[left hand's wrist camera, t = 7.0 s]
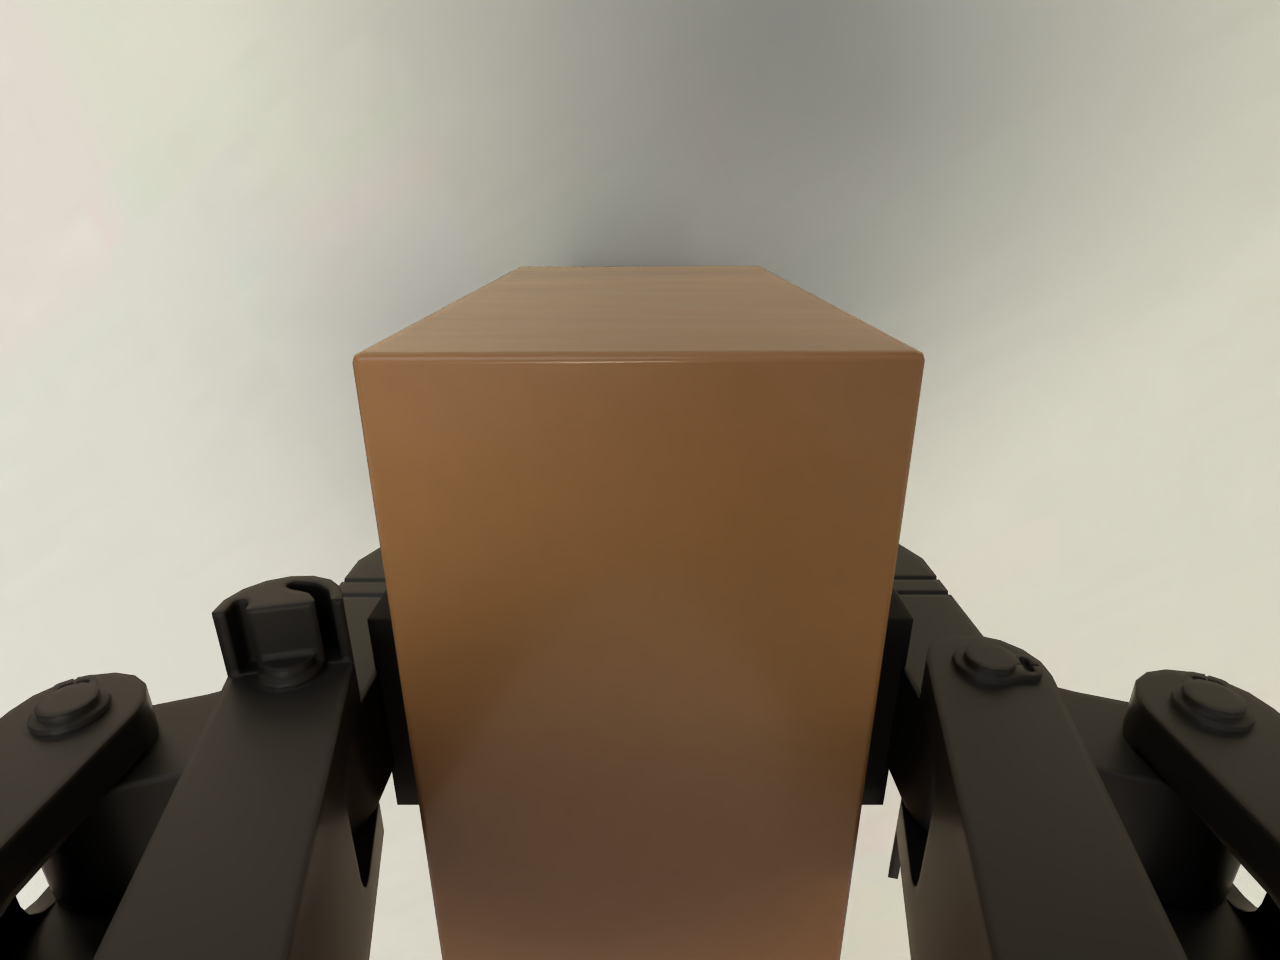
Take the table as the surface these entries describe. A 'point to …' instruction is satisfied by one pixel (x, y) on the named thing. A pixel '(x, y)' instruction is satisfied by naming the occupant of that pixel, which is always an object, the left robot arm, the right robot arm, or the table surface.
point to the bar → (639, 604)
